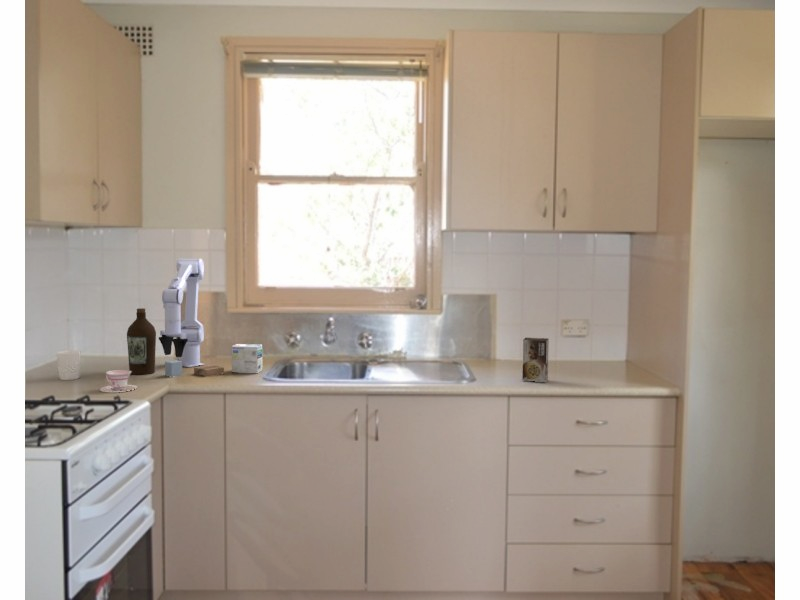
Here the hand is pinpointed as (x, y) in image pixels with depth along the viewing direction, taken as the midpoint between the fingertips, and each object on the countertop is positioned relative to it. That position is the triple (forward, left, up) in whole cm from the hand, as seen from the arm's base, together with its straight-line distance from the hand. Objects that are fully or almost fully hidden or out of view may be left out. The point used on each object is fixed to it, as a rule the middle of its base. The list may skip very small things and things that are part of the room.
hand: (173, 355), depth 267 cm
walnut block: (+7, +11, -8) cm, 15 cm away
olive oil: (-14, -5, -8) cm, 17 cm away
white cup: (-23, -29, -8) cm, 38 cm away
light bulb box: (+14, +24, -8) cm, 29 cm away
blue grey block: (0, 0, -8) cm, 8 cm away
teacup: (+8, -26, -8) cm, 29 cm away
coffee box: (+107, +87, -8) cm, 138 cm away
